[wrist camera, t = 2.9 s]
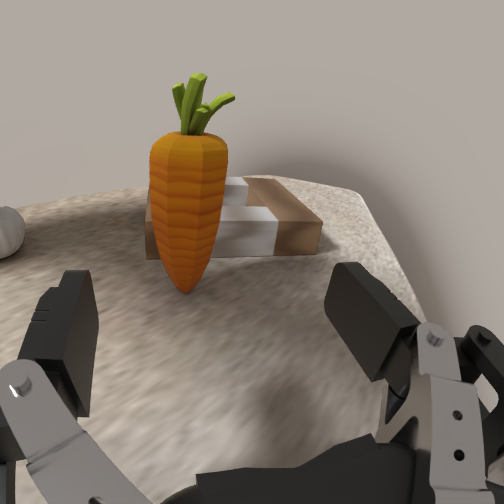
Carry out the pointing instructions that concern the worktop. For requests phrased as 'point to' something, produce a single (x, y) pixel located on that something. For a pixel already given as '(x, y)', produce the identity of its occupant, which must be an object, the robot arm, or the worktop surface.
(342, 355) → the worktop surface
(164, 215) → the carrot
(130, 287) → the worktop surface
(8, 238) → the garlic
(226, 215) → the brown and silver frame
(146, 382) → the worktop surface
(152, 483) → the worktop surface
